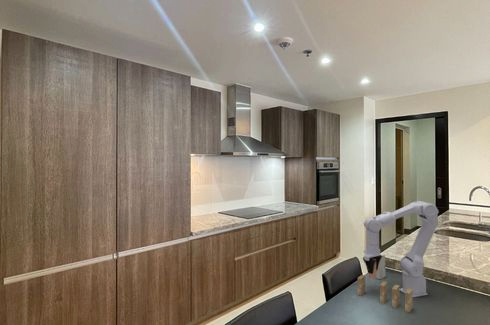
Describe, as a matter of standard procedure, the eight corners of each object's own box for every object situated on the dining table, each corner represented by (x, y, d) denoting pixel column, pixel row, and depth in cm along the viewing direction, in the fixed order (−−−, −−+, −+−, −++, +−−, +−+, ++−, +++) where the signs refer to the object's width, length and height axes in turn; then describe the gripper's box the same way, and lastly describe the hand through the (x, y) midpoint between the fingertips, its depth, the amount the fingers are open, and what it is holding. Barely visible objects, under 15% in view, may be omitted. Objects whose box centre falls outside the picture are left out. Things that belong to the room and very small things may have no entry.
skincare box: (379, 279, 143) (379, 256, 142) (371, 276, 146) (371, 254, 146) (386, 276, 146) (385, 254, 146) (378, 273, 150) (377, 252, 150)
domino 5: (412, 307, 115) (412, 289, 115) (409, 312, 112) (409, 293, 112) (408, 306, 117) (408, 288, 116) (405, 311, 113) (405, 292, 113)
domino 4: (399, 303, 119) (399, 285, 119) (396, 308, 115) (396, 289, 115) (395, 302, 120) (395, 284, 120) (392, 306, 117) (392, 288, 117)
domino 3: (387, 299, 123) (387, 282, 122) (383, 303, 119) (383, 285, 119) (383, 298, 124) (383, 281, 124) (380, 302, 120) (379, 284, 120)
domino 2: (376, 275, 131) (376, 259, 131) (372, 278, 127) (372, 262, 127) (372, 274, 132) (372, 258, 132) (368, 277, 129) (368, 261, 128)
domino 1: (365, 292, 130) (365, 275, 130) (361, 295, 126) (360, 279, 126) (361, 291, 131) (361, 274, 131) (357, 294, 127) (357, 277, 127)
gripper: (369, 238, 137) (370, 264, 138) (357, 244, 127) (357, 273, 127) (384, 241, 132) (384, 268, 132) (373, 248, 122) (373, 278, 122)
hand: (372, 271), depth 130 cm, fingers closed on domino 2, 5 cm apart
